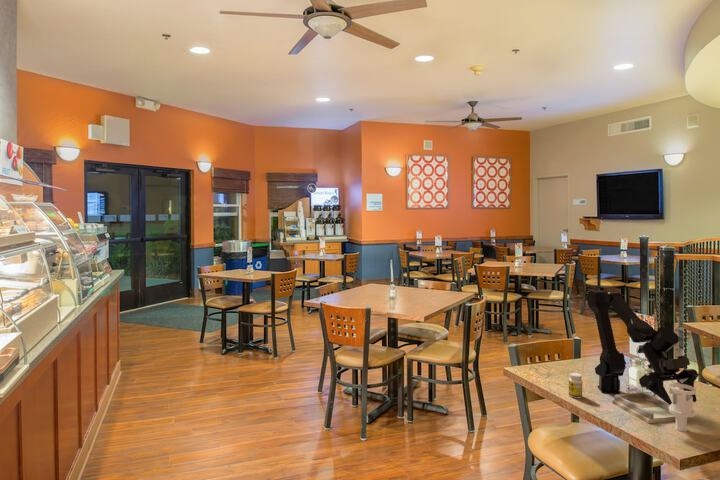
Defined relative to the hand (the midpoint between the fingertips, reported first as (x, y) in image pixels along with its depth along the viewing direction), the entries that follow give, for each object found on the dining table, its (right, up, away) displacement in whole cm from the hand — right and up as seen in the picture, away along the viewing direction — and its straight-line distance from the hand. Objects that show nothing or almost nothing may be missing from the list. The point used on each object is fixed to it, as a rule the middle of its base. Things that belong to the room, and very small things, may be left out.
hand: (683, 402), depth 158 cm
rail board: (-3, -8, +15) cm, 17 cm away
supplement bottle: (-22, -7, +29) cm, 37 cm away
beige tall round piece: (0, -9, +1) cm, 9 cm away
